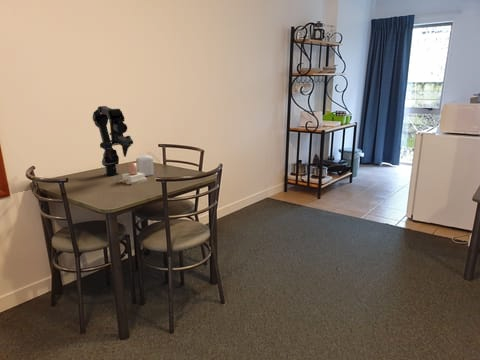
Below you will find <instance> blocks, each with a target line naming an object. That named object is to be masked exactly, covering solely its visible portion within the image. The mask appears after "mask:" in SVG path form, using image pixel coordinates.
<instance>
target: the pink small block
mask: <svg viewBox="0 0 480 360" xmlns="http://www.w3.org/2000/svg"><path fill="white" fill-rule="evenodd" d="M127 171H128V173H129V174H137V173H138V171H137V163H136V162H131V163H127Z"/></svg>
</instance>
